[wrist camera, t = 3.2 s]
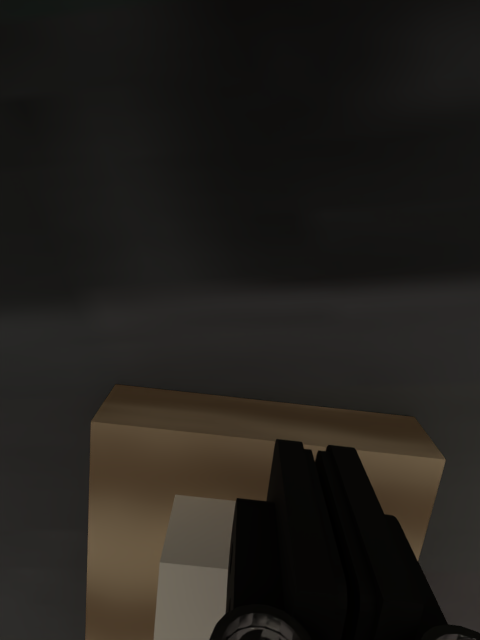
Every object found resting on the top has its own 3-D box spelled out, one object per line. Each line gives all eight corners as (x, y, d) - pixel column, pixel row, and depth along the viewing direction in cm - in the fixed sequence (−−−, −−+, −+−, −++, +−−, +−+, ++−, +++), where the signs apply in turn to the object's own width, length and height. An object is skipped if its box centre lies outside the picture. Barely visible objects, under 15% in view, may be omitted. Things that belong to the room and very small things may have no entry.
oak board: (115, 384, 18) (90, 421, 15) (414, 416, 18) (445, 459, 15) (103, 681, 22) (82, 753, 20) (343, 704, 23) (358, 779, 20)
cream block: (175, 494, 16) (159, 562, 13) (345, 512, 16) (367, 583, 13) (161, 646, 18) (145, 734, 15) (313, 660, 18) (326, 751, 15)
